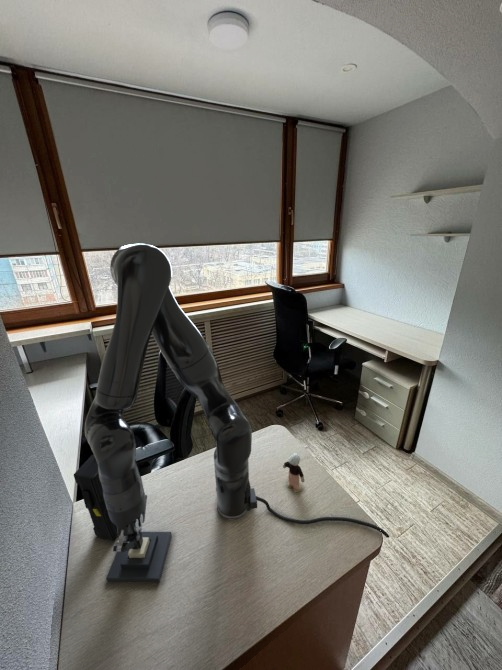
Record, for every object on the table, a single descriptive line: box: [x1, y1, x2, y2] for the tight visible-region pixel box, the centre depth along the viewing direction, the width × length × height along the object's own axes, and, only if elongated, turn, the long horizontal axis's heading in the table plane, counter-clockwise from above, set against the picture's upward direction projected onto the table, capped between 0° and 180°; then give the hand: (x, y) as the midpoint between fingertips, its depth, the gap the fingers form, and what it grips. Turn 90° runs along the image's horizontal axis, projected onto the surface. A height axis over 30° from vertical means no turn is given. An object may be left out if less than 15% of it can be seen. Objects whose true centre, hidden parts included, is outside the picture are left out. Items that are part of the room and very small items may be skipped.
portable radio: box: [73, 453, 119, 542], centre depth 67 cm, size 8×6×25 cm
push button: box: [105, 531, 173, 584], centre depth 65 cm, size 12×10×4 cm
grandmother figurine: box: [282, 453, 305, 493], centre depth 81 cm, size 8×4×13 cm, turn 58°
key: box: [128, 537, 150, 558], centre depth 64 cm, size 4×4×2 cm
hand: (137, 544), depth 64 cm, fingers closed
